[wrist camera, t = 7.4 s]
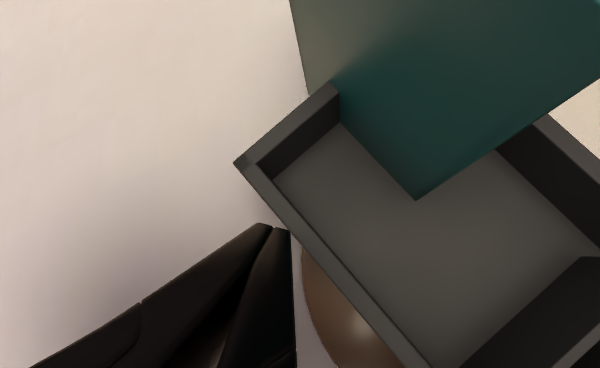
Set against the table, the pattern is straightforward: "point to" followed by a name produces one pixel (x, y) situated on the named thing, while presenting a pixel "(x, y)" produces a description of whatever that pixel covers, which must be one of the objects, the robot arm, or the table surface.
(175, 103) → the table surface
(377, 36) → the dish rack
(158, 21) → the table surface
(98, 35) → the table surface
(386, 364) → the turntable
